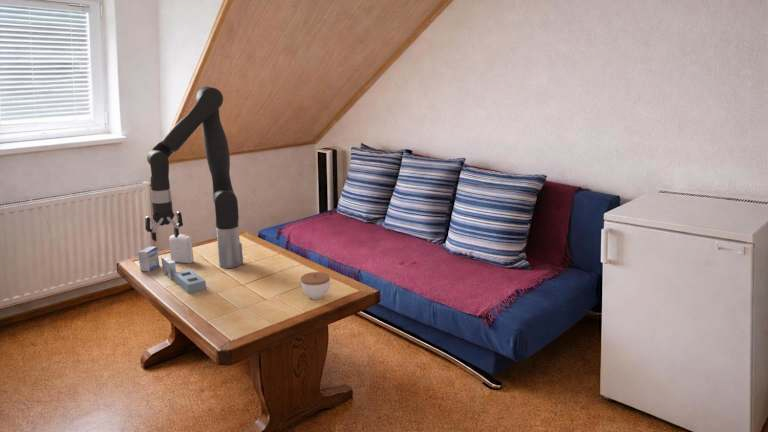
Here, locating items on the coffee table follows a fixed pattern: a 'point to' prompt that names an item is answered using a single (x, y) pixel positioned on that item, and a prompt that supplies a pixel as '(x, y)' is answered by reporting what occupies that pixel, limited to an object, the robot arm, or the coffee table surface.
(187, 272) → the blue-grey slotted block
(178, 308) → the coffee table surface
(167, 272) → the metal block
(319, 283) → the lidded jar
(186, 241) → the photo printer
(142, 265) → the medicine box
